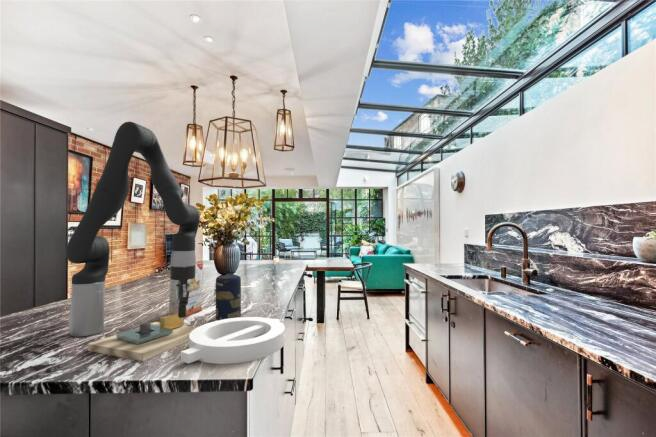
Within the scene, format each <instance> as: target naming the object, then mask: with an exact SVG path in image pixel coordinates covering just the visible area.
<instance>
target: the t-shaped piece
mask: <svg viewBox="0 0 656 437" xmlns="http://www.w3.org/2000/svg"><path fill="white" fill-rule="evenodd" d="M159 322H160V326H157V325H153V324H151V332H149V333H146V334H140V328H138V327H136V328H137V329H135V328H133V330H132V329H129V330H126V331H122V332H120V333H119V332H118V333H116V334H115V335H116V338H118V339H122V340H125V341H128V342H131V343H135V344H139V343H143V342H146V341H149V340H152V339H155V338H158V337H162V336H165V335H168V334H171V333H173V328H176V327H179V326H183V325H184V323H185V317H183V318H179V317H178V313H176V314H172V315H169V314H168V315H165V316H162V317H161V316H160V317H159ZM184 326H185V325H184Z"/></svg>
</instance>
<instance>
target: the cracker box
mask: <svg viewBox="0 0 656 437" xmlns="http://www.w3.org/2000/svg"><path fill="white" fill-rule="evenodd" d="M203 265H204V263H202V262H196V267H195V278H193V279H189V280H188V283H189V285H190V290H189V298H188V304H187V306H186V317H189V316H190V315H192V314H193V315H194V314H195V313H198V312H200V311H202V306H203V305H202V304H203V303H202V300H203V268H204V267H203ZM169 278H170V277H169ZM176 284H178V280H172V279H171V278H170V280H169V305H168V306H169V307H168V310H169V311H168V315H170V313H172V312H177V313H178V304H177V303H178V302H177V297H176Z"/></svg>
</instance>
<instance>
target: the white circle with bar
mask: <svg viewBox="0 0 656 437" xmlns="http://www.w3.org/2000/svg"><path fill="white" fill-rule="evenodd" d="M196 327H197V328H196V329H194V330H193V331H192V332H191V333H190V334H189V341H188V348H187V349H184V350H182V351H180V361H181V362H184V363H186V364H190V363H194V362H196V361H199V362H204V363H207V364H216V365H217V364H218V365H219V364H224V365H227V364H240V363H246V362H251V361H257V360H260V359H263V358H266V357H268V356H271V355H273V354H274V353H277V352H278V351H279V350H281V349H282V348H283V347H284V345H285V343H286V339H285V338H286V336H285V334H286V333H285V332H286V327H285V324H284V323H283V320H282V319H279V318H269V317H264V316H263V317H260V316H243V317H242V316H240V317H238V318H229V319H223V320H215V321H211V322H206V323H205V324H201V325H200V326H196Z"/></svg>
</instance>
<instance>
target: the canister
mask: <svg viewBox="0 0 656 437" xmlns="http://www.w3.org/2000/svg"><path fill="white" fill-rule="evenodd" d="M241 280H242V278H241V276H240V275H238V274H232V273H227V274H225V275H220V276H217V277H216V279H215V319H216V321H218V320H223V319H229V318H238V317H242V281H241Z"/></svg>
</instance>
